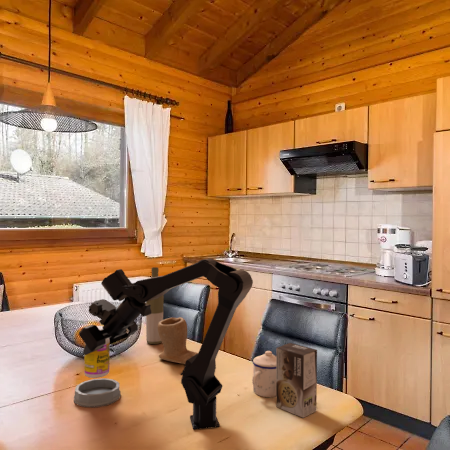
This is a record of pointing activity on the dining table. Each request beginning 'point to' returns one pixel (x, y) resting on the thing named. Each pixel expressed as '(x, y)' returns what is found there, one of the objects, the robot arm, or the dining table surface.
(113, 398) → the round bowl
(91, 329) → the robot arm
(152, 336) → the bottle
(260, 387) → the teacup with lid
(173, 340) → the tan boot-shaped piece
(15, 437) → the dining table surface
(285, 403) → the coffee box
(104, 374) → the supplement bottle
